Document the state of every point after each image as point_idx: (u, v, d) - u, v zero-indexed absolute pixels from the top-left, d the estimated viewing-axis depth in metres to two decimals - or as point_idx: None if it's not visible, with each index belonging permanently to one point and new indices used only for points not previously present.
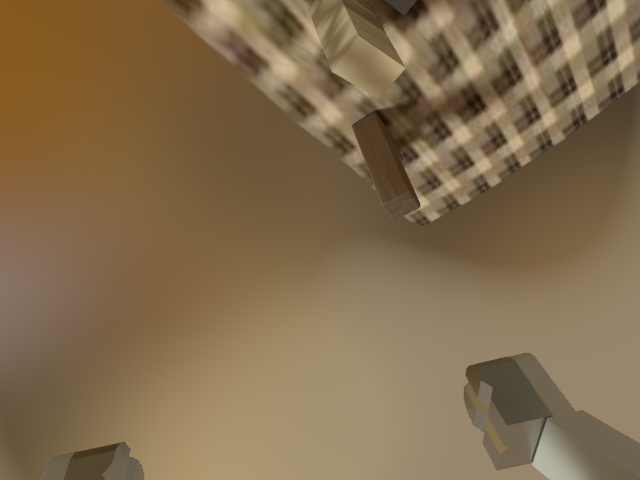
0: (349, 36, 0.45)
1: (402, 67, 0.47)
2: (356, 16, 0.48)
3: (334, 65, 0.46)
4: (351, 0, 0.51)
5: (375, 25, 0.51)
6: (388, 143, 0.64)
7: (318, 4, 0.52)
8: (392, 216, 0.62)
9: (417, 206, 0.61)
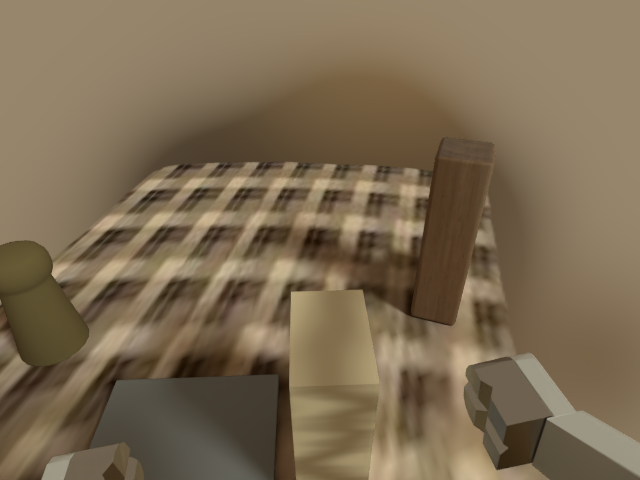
0: (307, 403, 0.22)
1: (293, 295, 0.27)
2: None
3: (367, 388, 0.22)
4: None
5: None
6: (421, 256, 0.40)
7: None
8: (491, 147, 0.36)
9: (446, 138, 0.37)
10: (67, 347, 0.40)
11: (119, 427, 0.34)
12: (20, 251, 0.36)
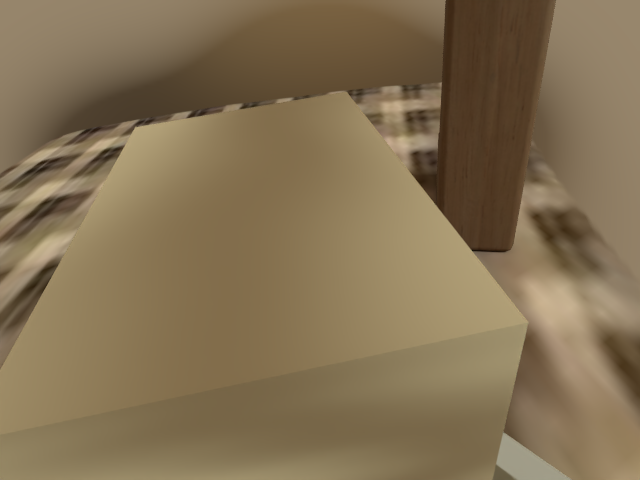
0: None
1: (139, 132, 0.09)
2: None
3: (458, 363, 0.04)
4: None
5: None
6: (445, 128, 0.22)
7: None
8: None
9: None
10: None
11: None
12: None
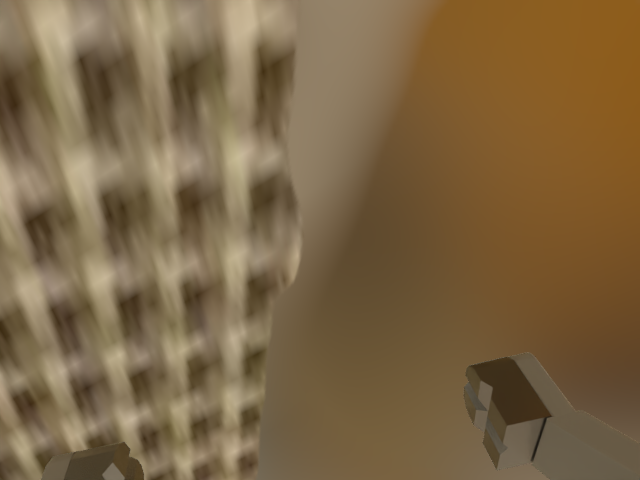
0: None
1: None
2: None
3: None
4: None
5: None
6: None
7: None
8: None
9: None
10: None
11: None
12: None
